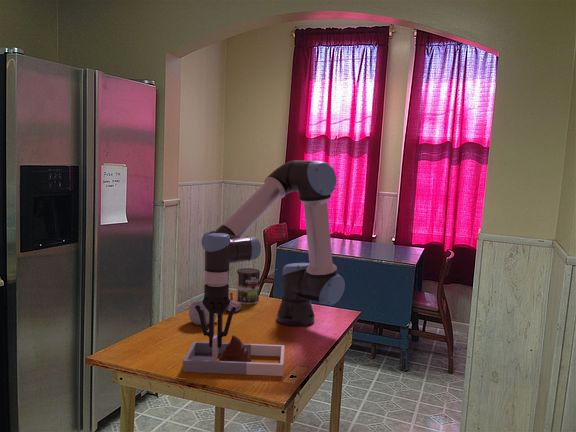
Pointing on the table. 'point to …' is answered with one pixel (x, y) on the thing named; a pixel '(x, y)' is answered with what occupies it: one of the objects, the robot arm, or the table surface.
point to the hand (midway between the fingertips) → (215, 356)
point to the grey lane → (211, 360)
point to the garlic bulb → (234, 303)
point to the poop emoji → (235, 351)
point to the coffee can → (248, 286)
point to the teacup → (195, 315)
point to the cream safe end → (266, 368)
